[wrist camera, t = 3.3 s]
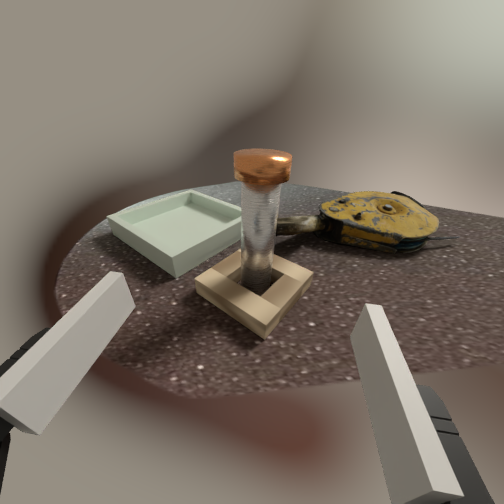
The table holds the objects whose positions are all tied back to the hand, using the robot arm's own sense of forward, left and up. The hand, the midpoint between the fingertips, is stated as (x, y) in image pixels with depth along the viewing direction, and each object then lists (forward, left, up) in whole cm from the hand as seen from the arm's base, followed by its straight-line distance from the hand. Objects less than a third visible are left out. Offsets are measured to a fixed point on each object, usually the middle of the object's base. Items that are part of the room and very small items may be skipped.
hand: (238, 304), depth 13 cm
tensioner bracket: (+5, -8, -8) cm, 12 cm away
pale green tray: (+20, -11, -8) cm, 25 cm away
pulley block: (+1, -29, -8) cm, 30 cm away
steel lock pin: (+5, -8, -8) cm, 12 cm away
